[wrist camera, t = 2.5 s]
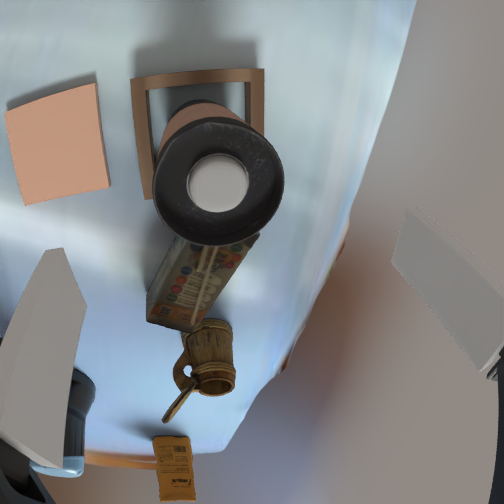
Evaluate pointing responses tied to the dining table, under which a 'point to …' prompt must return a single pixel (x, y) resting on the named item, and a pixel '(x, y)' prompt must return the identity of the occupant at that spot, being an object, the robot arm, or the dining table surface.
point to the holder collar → (143, 84)
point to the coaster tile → (58, 145)
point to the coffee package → (174, 468)
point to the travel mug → (215, 176)
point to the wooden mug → (204, 363)
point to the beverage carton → (192, 282)
